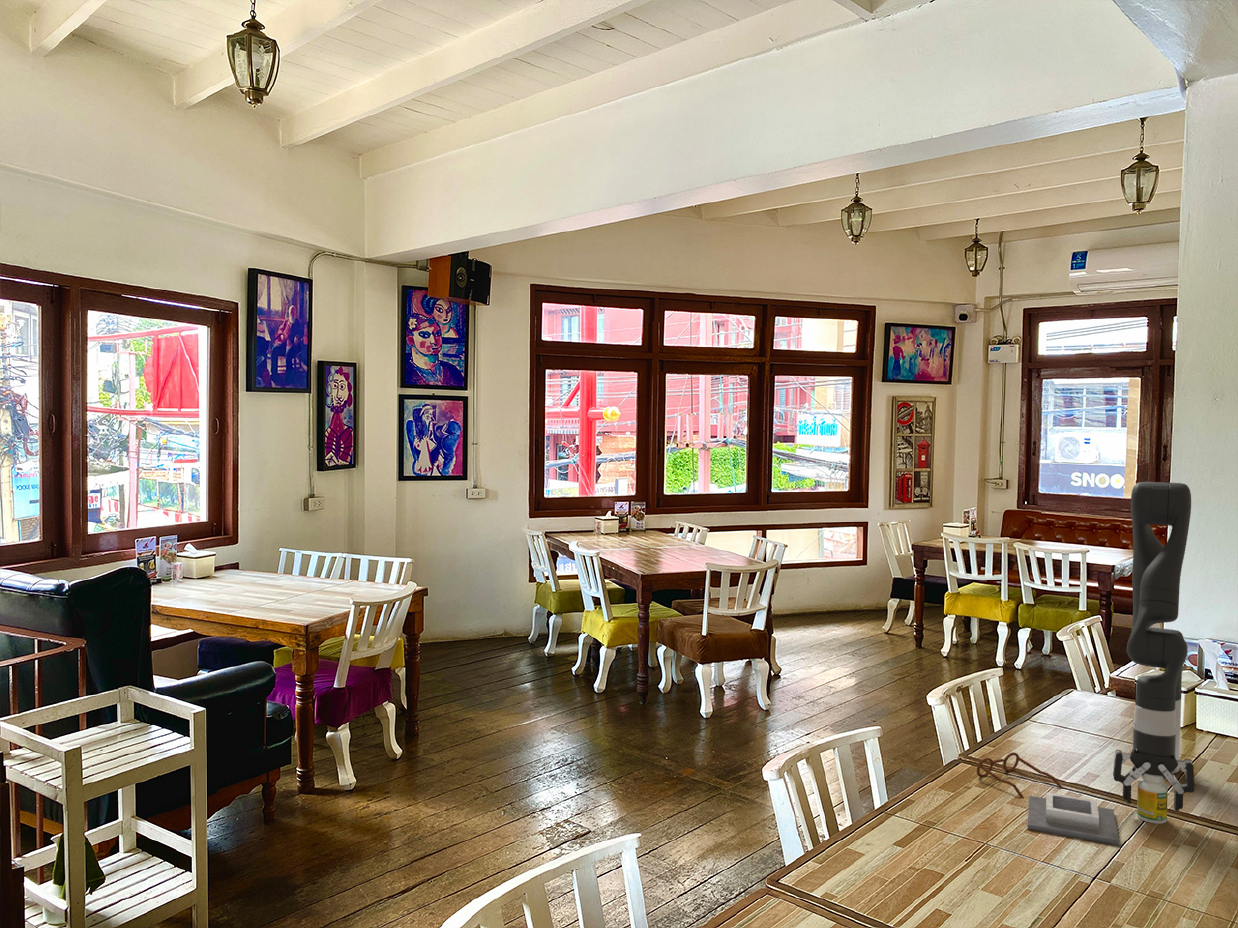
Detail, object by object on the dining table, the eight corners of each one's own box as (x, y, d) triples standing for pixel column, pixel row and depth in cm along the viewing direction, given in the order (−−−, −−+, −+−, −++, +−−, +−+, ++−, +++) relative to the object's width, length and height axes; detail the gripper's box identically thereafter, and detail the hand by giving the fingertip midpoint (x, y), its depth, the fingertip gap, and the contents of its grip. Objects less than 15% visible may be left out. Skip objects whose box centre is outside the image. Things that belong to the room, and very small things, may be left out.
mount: (1029, 799, 195) (1029, 783, 195) (1113, 813, 188) (1113, 797, 188) (1027, 829, 180) (1028, 811, 180) (1118, 845, 174) (1119, 827, 173)
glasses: (1015, 770, 213) (1016, 749, 213) (1064, 790, 201) (1064, 768, 201) (975, 779, 207) (975, 757, 207) (1022, 800, 196) (1023, 777, 196)
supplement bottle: (1144, 811, 190) (1146, 766, 189) (1172, 820, 185) (1173, 774, 185) (1131, 817, 187) (1133, 771, 186) (1158, 826, 182) (1160, 779, 182)
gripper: (1192, 728, 186) (1190, 805, 186) (1113, 718, 192) (1111, 793, 192) (1198, 739, 179) (1195, 819, 179) (1116, 728, 185) (1113, 806, 185)
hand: (1152, 805), depth 186 cm, fingers open, 8 cm apart
